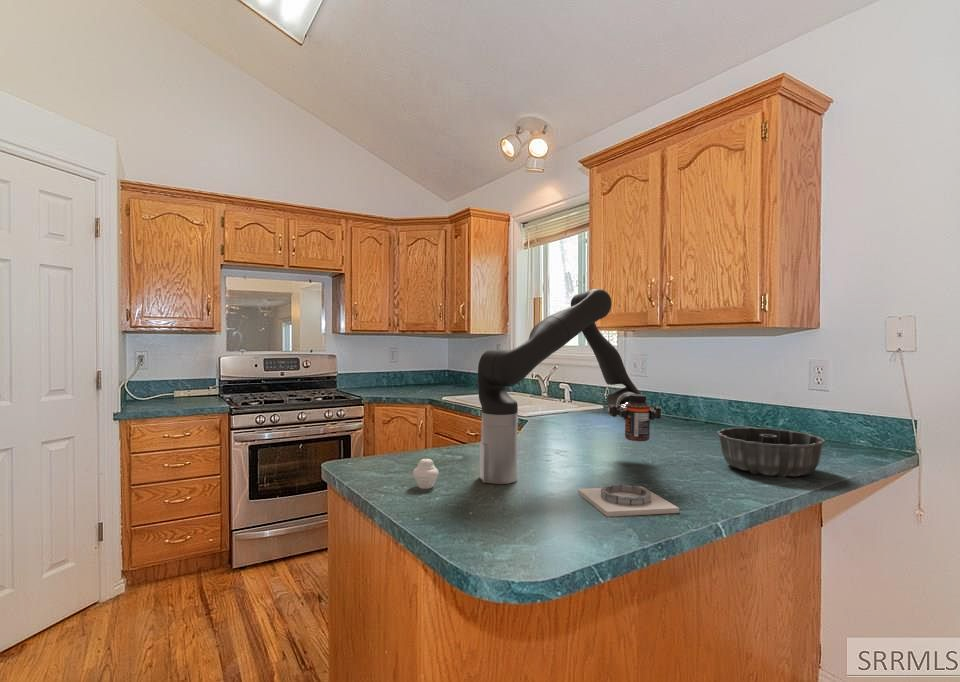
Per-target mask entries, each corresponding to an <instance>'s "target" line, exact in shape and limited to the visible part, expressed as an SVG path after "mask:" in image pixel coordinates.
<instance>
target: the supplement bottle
mask: <svg viewBox="0 0 960 682" xmlns="http://www.w3.org/2000/svg"><path fill="white" fill-rule="evenodd" d="M629 399H630V401H629V403H627V404H626V408H625V409H626V410H627V418H626V419H625V422H624V423H625V424H624V425H625V426H624V436H625V439H626V440H629V441H632V442H646V441H649V440H650V437H651V436H650V435H651V434H650V433H651V419H650V408H651V406H650V404H649V403H648V402H646V401H647V395H645V394H630V398H629Z"/></svg>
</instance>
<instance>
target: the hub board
mask: <svg viewBox="0 0 960 682" xmlns="http://www.w3.org/2000/svg"><path fill="white" fill-rule="evenodd" d="M637 487H641V488H644V489H646V490H648V491H650V490H649V489H647V488H646V487H643V486H637ZM601 489H602V487H595V488H592V487H591V488H577V494H578V495H579V496H581V498H583V499H584V500H586V501H587V502H588V503H590V505H592V506H593V507H594V508H596V509H597V510H598V511H599V512H601V514H603V515H604V516H605V517H606V518H607V517H625V516H626V517H627V516H643V515H647V516H648V515H661V514H678V513H680V508H679V507H678V506H677V505H675V504H673V503H672V502H669V501H668V500H666V499H664V498H663V497H661V496H659V495H658V494H656V493H654V492H652V491H650V492H651V502H650V503H648V504H645V505H638V506H631V505H630V506H628V505H619V504H615V503H611V502H608V501H605V500H604V499H603V498H601ZM610 494H614V495H617V496H623V497H641V495H637V494H633V493H626V492H613V493H610Z"/></svg>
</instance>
